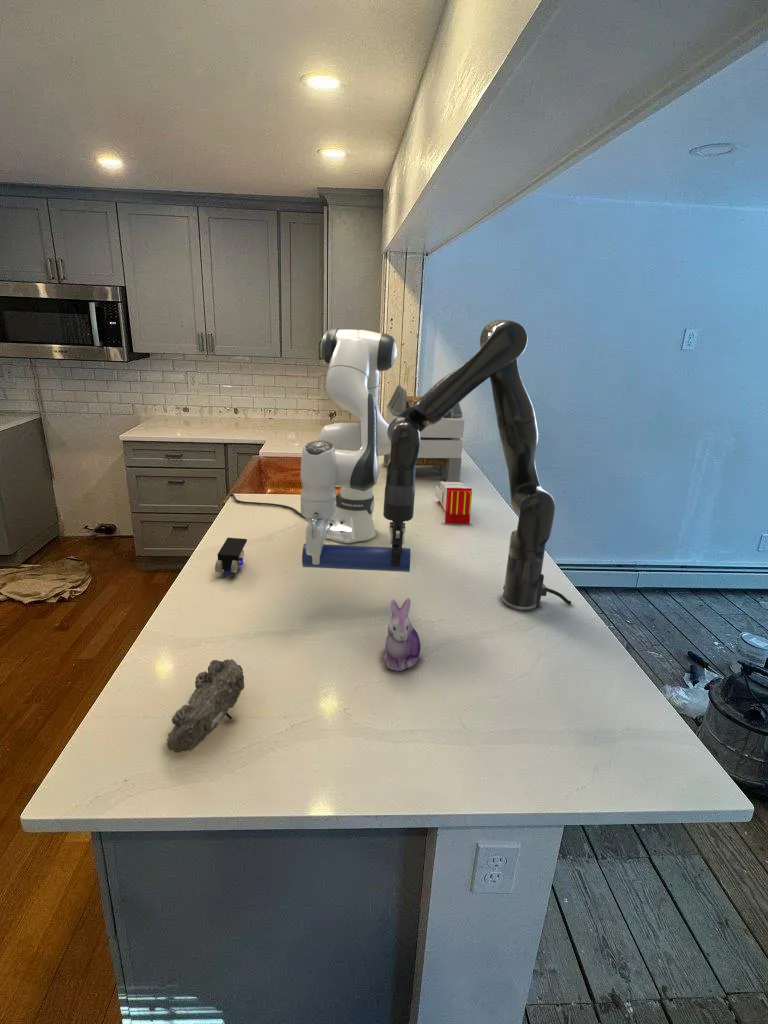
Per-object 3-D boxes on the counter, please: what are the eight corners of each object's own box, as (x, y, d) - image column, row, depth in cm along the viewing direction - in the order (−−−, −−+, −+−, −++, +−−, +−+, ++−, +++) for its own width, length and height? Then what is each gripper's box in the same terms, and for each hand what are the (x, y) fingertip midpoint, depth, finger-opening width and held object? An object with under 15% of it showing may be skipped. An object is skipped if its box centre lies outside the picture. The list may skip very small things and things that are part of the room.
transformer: (382, 463, 289) (386, 382, 275) (445, 464, 293) (451, 384, 279) (390, 482, 257) (394, 392, 243) (460, 483, 261) (468, 394, 247)
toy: (463, 477, 236) (476, 489, 206) (461, 509, 239) (474, 525, 209) (433, 476, 235) (443, 488, 206) (432, 508, 238) (441, 524, 209)
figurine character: (238, 584, 162) (249, 557, 175) (236, 562, 158) (247, 536, 172) (215, 584, 161) (227, 556, 175) (212, 561, 158) (225, 535, 171)
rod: (302, 571, 145) (301, 549, 143) (305, 561, 150) (305, 539, 148) (409, 576, 145) (410, 554, 143) (408, 565, 150) (410, 544, 148)
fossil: (192, 660, 117) (244, 628, 112) (224, 691, 120) (276, 661, 115) (142, 746, 98) (202, 712, 93) (182, 779, 101) (242, 748, 96)
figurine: (394, 677, 122) (397, 616, 117) (372, 652, 130) (375, 594, 125) (431, 667, 126) (436, 607, 121) (408, 643, 134) (412, 587, 129)
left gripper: (326, 522, 132) (325, 575, 137) (334, 494, 151) (334, 542, 156) (299, 521, 132) (299, 574, 137) (311, 493, 151) (311, 541, 156)
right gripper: (415, 509, 134) (410, 571, 140) (413, 491, 148) (409, 548, 153) (383, 508, 134) (380, 570, 140) (384, 490, 148) (381, 547, 153)
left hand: (318, 557), depth 147 cm, fingers closed on rod, 6 cm apart
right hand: (395, 558), depth 146 cm, fingers open, 8 cm apart
